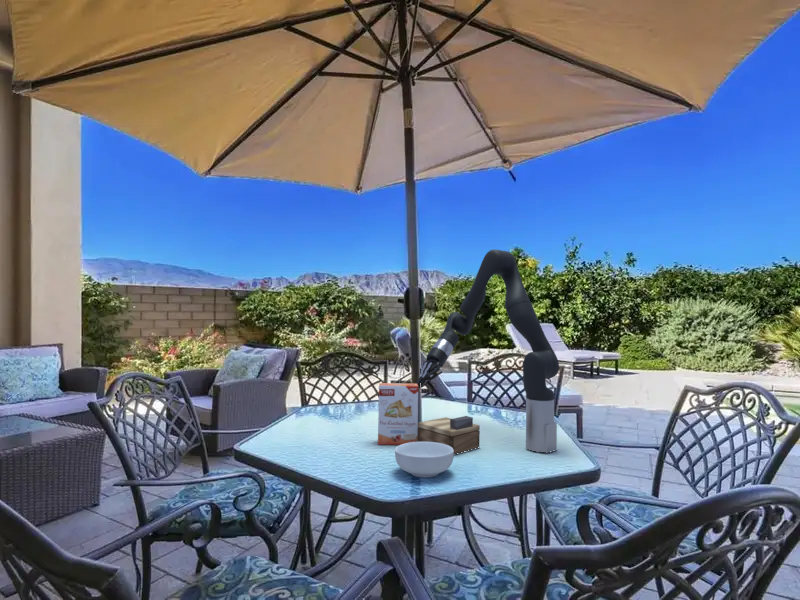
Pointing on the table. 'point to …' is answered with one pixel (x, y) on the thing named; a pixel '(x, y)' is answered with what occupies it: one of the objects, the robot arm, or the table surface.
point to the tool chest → (451, 439)
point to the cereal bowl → (424, 458)
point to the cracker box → (397, 413)
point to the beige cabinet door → (450, 425)
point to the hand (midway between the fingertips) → (417, 386)
